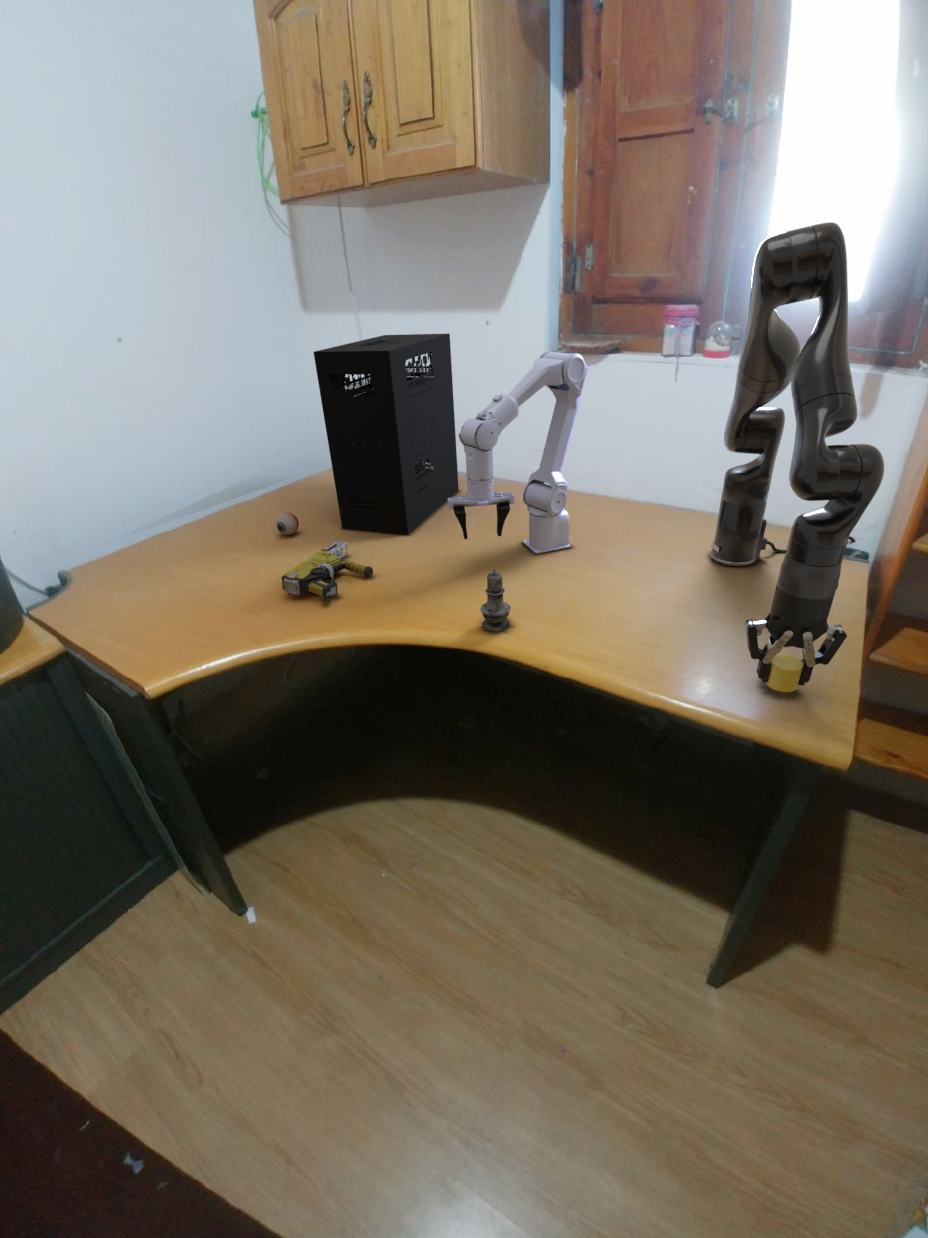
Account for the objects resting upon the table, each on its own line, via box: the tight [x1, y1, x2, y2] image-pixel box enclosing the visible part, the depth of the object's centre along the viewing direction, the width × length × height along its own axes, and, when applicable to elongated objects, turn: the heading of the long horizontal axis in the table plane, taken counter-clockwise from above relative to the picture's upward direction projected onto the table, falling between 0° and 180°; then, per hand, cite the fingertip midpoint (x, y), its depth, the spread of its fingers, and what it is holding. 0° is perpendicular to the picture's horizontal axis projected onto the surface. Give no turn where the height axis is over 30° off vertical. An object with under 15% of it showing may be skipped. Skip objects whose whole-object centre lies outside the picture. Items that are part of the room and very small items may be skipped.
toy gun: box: [281, 539, 374, 603], centre depth 138 cm, size 5×24×15 cm
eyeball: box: [275, 511, 300, 536], centre depth 163 cm, size 6×6×6 cm
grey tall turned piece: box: [479, 568, 512, 632], centre depth 114 cm, size 6×6×12 cm
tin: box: [765, 652, 803, 693], centre depth 94 cm, size 5×5×4 cm
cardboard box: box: [313, 333, 460, 535], centre depth 167 cm, size 38×20×45 cm, turn 159°
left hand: (482, 536), depth 136 cm, fingers open, 7 cm apart
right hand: (781, 680), depth 95 cm, fingers closed on tin, 4 cm apart
